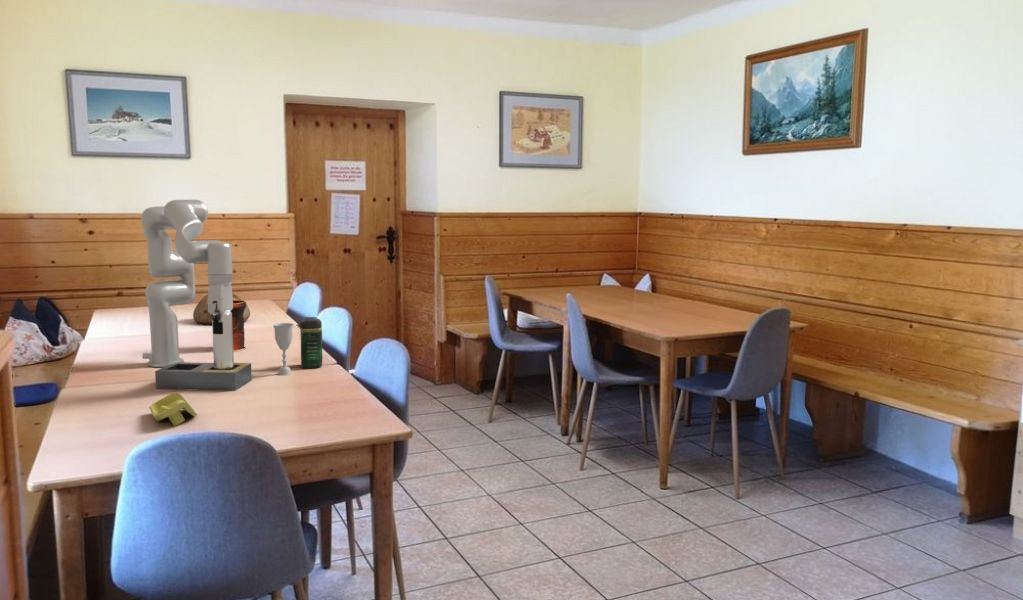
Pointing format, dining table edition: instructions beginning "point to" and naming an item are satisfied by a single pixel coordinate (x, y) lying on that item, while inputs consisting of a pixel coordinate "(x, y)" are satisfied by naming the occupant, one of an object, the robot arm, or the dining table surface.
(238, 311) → the vessel
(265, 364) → the dining table surface
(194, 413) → the plastic component
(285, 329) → the chalice
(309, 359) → the coffee jar
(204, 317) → the bread
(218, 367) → the silver long cylinder
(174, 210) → the robot arm
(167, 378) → the dock
